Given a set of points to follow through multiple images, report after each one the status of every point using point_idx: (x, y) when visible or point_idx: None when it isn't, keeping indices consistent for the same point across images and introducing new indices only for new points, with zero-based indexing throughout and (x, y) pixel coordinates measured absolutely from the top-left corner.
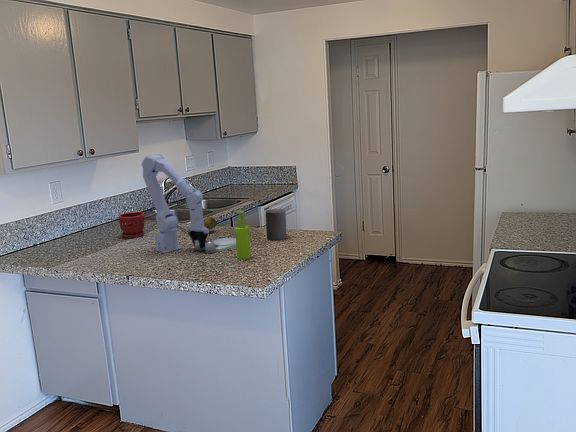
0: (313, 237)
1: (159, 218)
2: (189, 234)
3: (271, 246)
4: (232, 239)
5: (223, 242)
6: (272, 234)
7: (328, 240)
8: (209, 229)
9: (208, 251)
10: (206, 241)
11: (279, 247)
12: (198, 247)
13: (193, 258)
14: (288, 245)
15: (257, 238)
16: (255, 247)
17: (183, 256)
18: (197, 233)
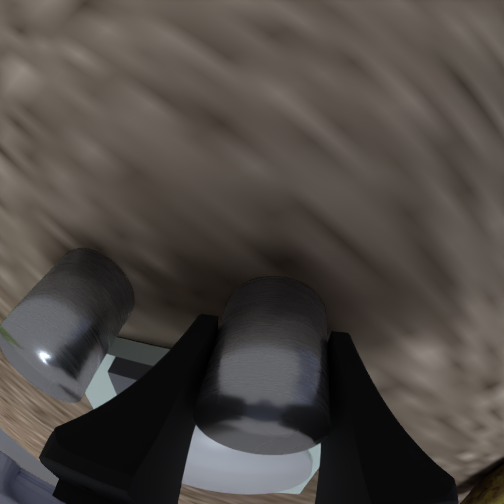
0: None
1: None
2: (419, 475)
3: (33, 420)
4: (205, 481)
5: None
6: None
7: (26, 450)
8: (465, 498)
9: (56, 264)
10: (62, 371)
11: (10, 409)
12: (235, 314)
13: (34, 50)
14: (21, 425)
15: (188, 493)
16: (49, 411)
17: (207, 7)
18: (113, 494)
